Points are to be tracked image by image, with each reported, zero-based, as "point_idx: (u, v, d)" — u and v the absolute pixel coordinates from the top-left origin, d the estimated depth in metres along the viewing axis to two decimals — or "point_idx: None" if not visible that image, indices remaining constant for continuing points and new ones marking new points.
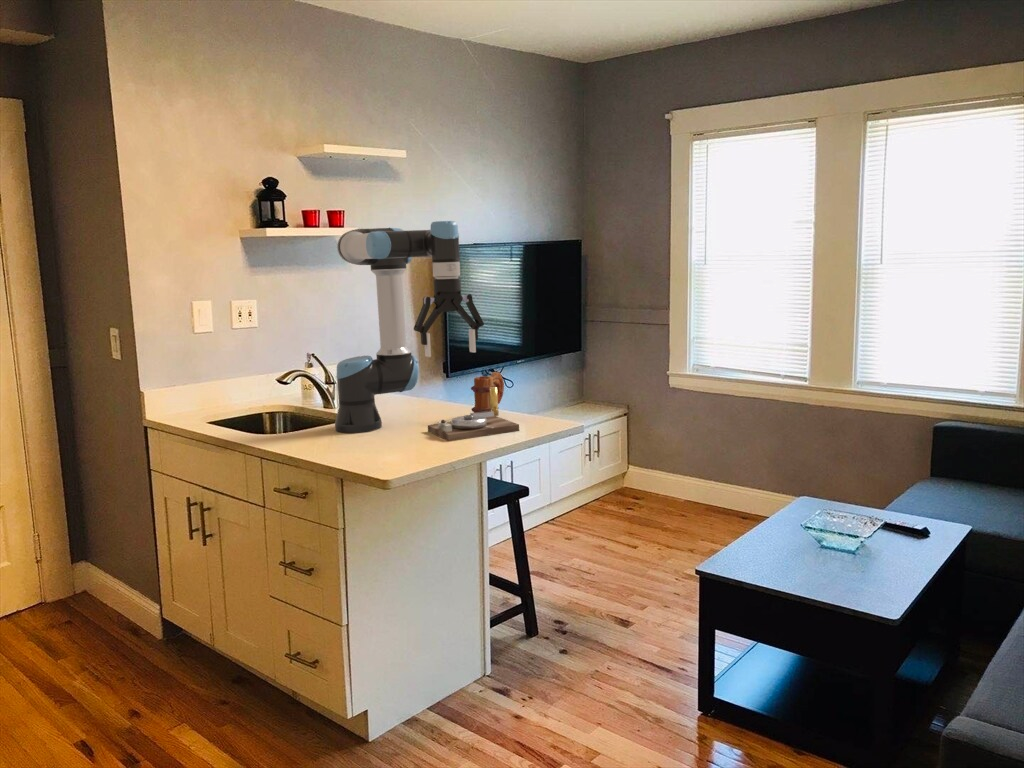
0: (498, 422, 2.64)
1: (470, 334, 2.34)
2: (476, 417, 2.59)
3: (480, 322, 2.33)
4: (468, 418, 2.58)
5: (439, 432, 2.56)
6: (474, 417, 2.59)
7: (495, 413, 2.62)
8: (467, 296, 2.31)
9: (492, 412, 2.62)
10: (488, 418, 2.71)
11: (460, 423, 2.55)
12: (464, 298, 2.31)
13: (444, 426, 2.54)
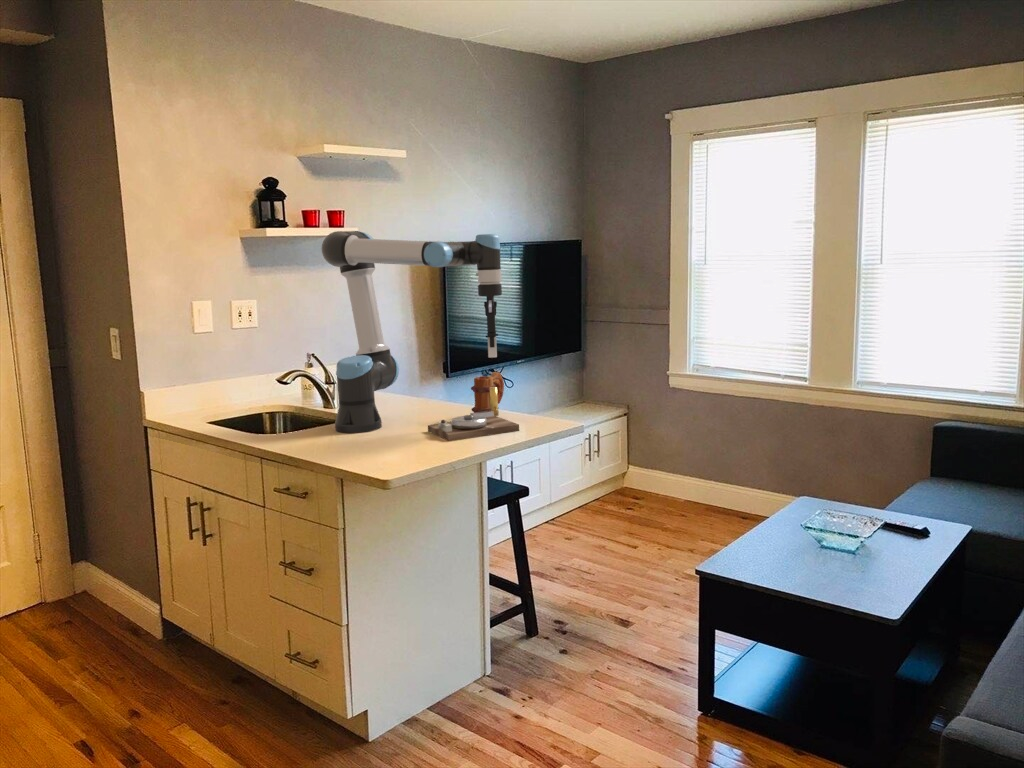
0: (498, 422, 2.64)
1: None
2: (476, 417, 2.59)
3: None
4: (468, 418, 2.58)
5: (439, 432, 2.56)
6: (474, 417, 2.59)
7: (495, 413, 2.62)
8: None
9: (492, 412, 2.62)
10: (488, 418, 2.71)
11: (460, 423, 2.55)
12: (488, 306, 2.60)
13: (444, 426, 2.54)
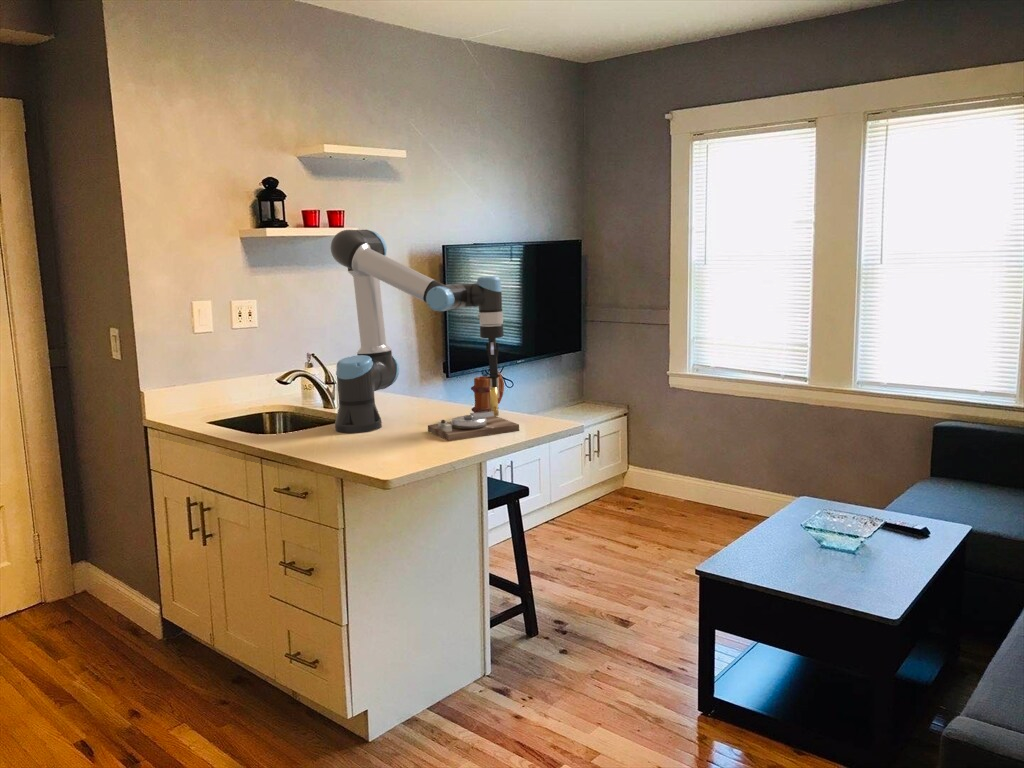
0: (498, 422, 2.64)
1: None
2: (476, 417, 2.59)
3: None
4: (468, 418, 2.58)
5: (439, 432, 2.56)
6: (474, 417, 2.59)
7: (495, 413, 2.62)
8: None
9: (492, 412, 2.62)
10: (488, 418, 2.71)
11: (460, 423, 2.55)
12: (490, 348, 2.62)
13: (444, 426, 2.54)
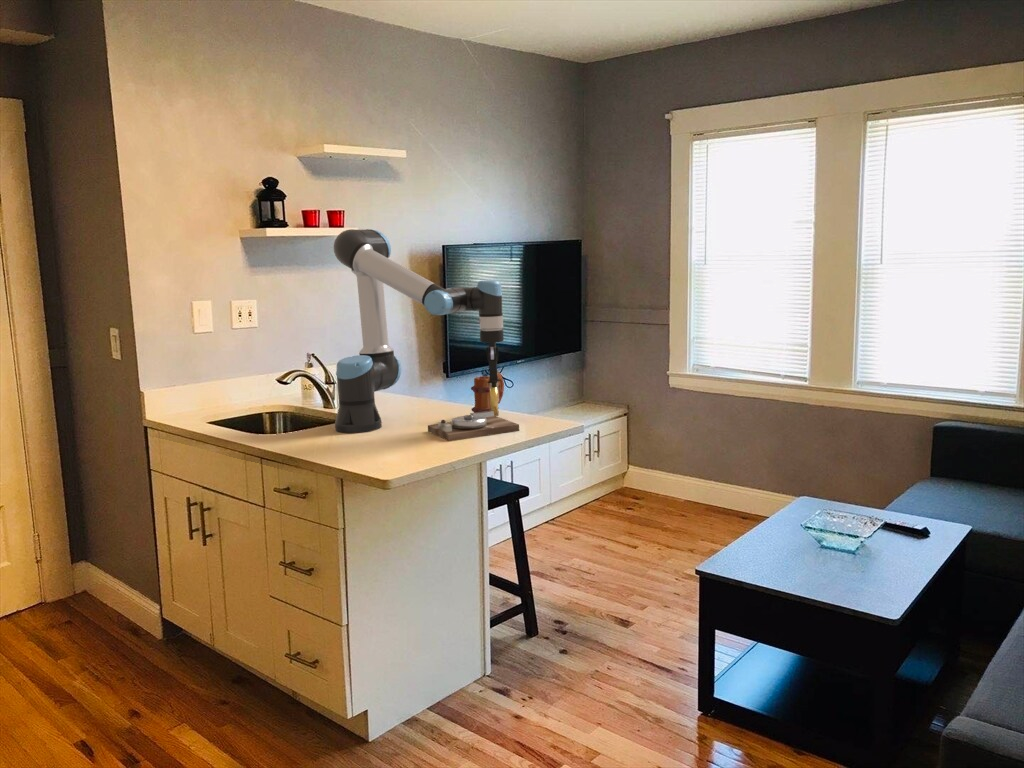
0: (498, 422, 2.64)
1: None
2: (476, 417, 2.59)
3: None
4: (468, 418, 2.58)
5: (439, 432, 2.56)
6: (474, 417, 2.59)
7: (495, 413, 2.62)
8: None
9: (492, 412, 2.62)
10: (488, 418, 2.71)
11: (460, 423, 2.55)
12: (490, 353, 2.60)
13: (444, 426, 2.54)
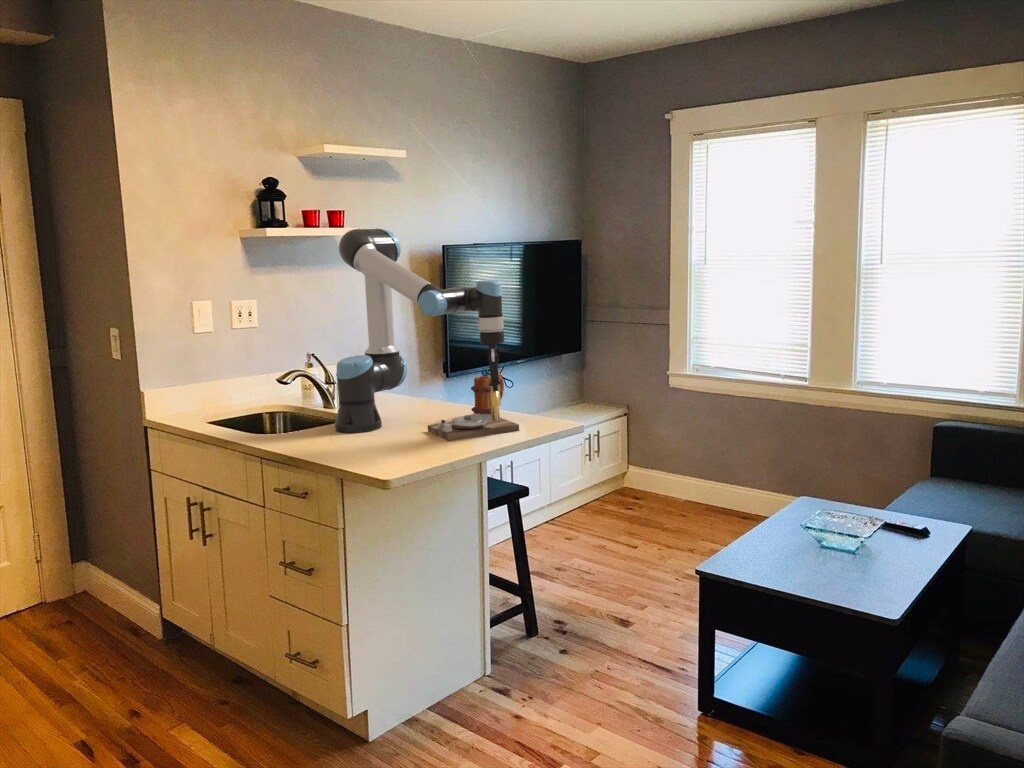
0: (498, 422, 2.64)
1: None
2: (474, 418, 2.58)
3: None
4: (465, 418, 2.58)
5: (439, 432, 2.56)
6: (471, 418, 2.58)
7: (493, 417, 2.55)
8: None
9: (490, 416, 2.56)
10: None
11: (451, 421, 2.58)
12: None
13: (444, 426, 2.54)
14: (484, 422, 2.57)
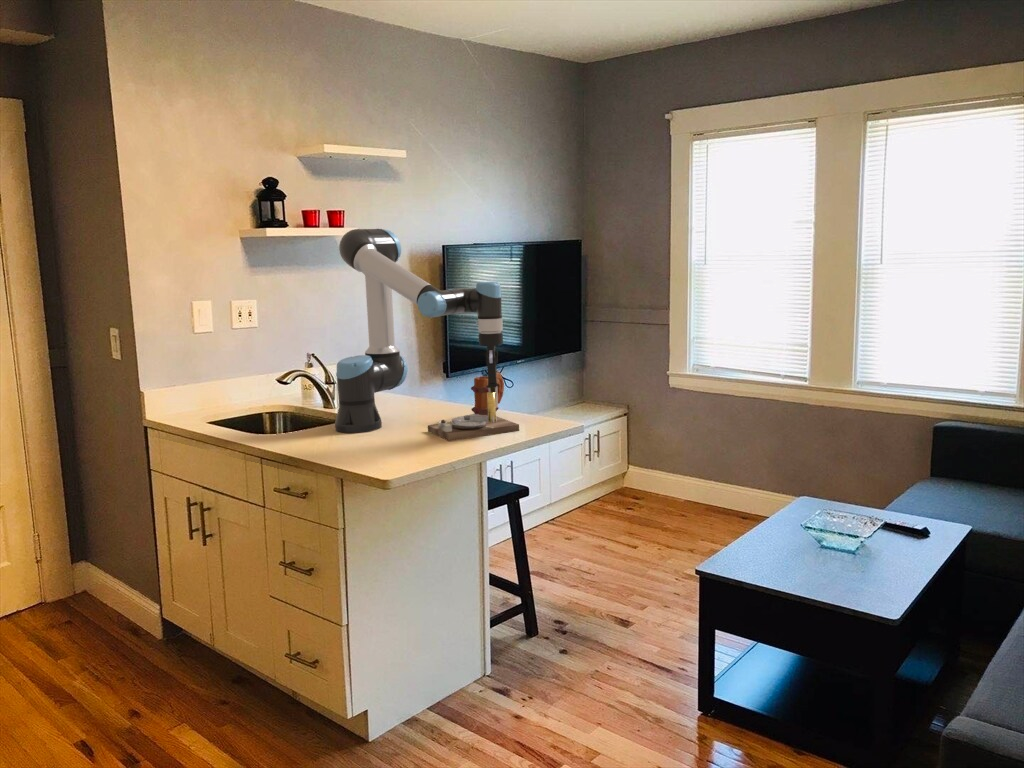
0: (498, 422, 2.64)
1: None
2: (472, 419, 2.57)
3: (488, 382, 2.54)
4: (464, 418, 2.59)
5: (439, 432, 2.56)
6: (470, 418, 2.58)
7: (488, 419, 2.54)
8: None
9: (487, 417, 2.54)
10: None
11: (451, 420, 2.59)
12: None
13: (444, 426, 2.54)
14: (482, 423, 2.56)
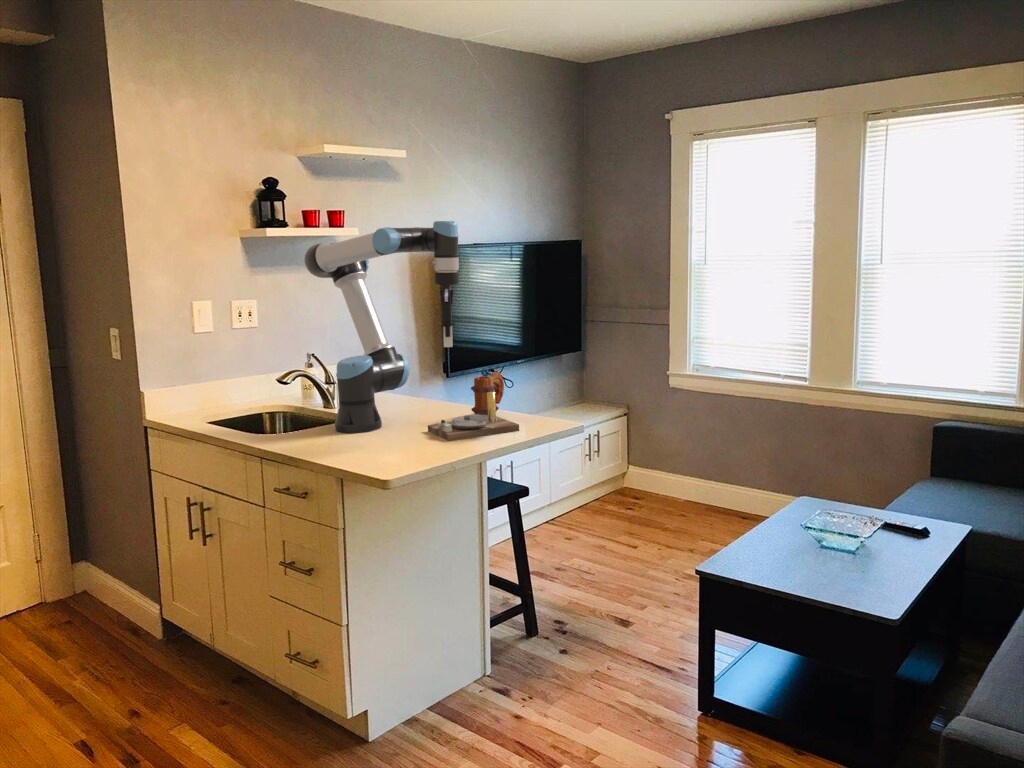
0: (498, 422, 2.64)
1: None
2: (472, 419, 2.57)
3: (443, 321, 2.57)
4: (464, 418, 2.59)
5: (439, 432, 2.56)
6: (470, 418, 2.58)
7: (488, 419, 2.54)
8: None
9: (487, 417, 2.54)
10: None
11: (451, 420, 2.59)
12: (445, 295, 2.54)
13: (444, 426, 2.54)
14: (482, 423, 2.56)
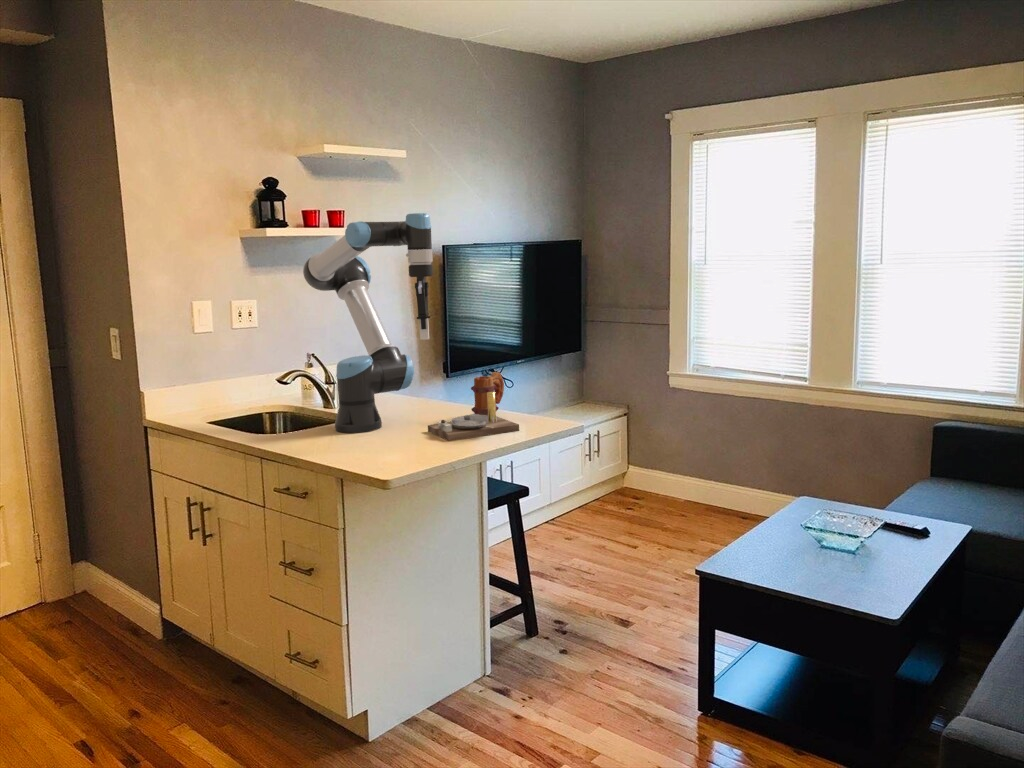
0: (498, 422, 2.64)
1: None
2: (472, 419, 2.57)
3: (418, 313, 2.57)
4: (464, 418, 2.59)
5: (439, 432, 2.56)
6: (470, 418, 2.58)
7: (488, 419, 2.54)
8: None
9: (487, 417, 2.54)
10: None
11: (451, 420, 2.59)
12: (418, 287, 2.54)
13: (444, 426, 2.54)
14: (482, 423, 2.56)
